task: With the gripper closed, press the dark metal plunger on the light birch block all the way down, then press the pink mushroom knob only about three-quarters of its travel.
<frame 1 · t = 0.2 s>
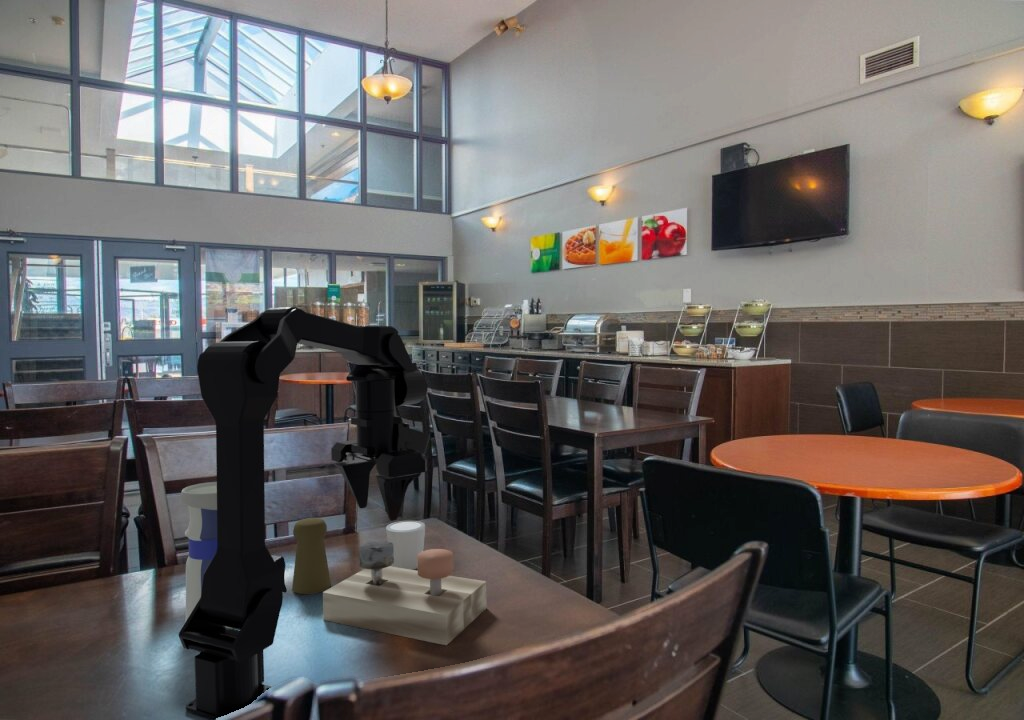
hand: (377, 513, 94), 14 cm above the table, tool pointing down, fingers open, 9 cm apart
water bottle: (216, 622, 89), on the table
plunger block: (406, 613, 90), on the table
metal plunger: (376, 567, 92), point 6 cm above the table, slide at 0.0 cm
shot glass: (406, 565, 110), on the table
cork: (311, 587, 101), on the table
pink mushroom knob: (435, 576, 88), point 6 cm above the table, slide at 0.0 cm
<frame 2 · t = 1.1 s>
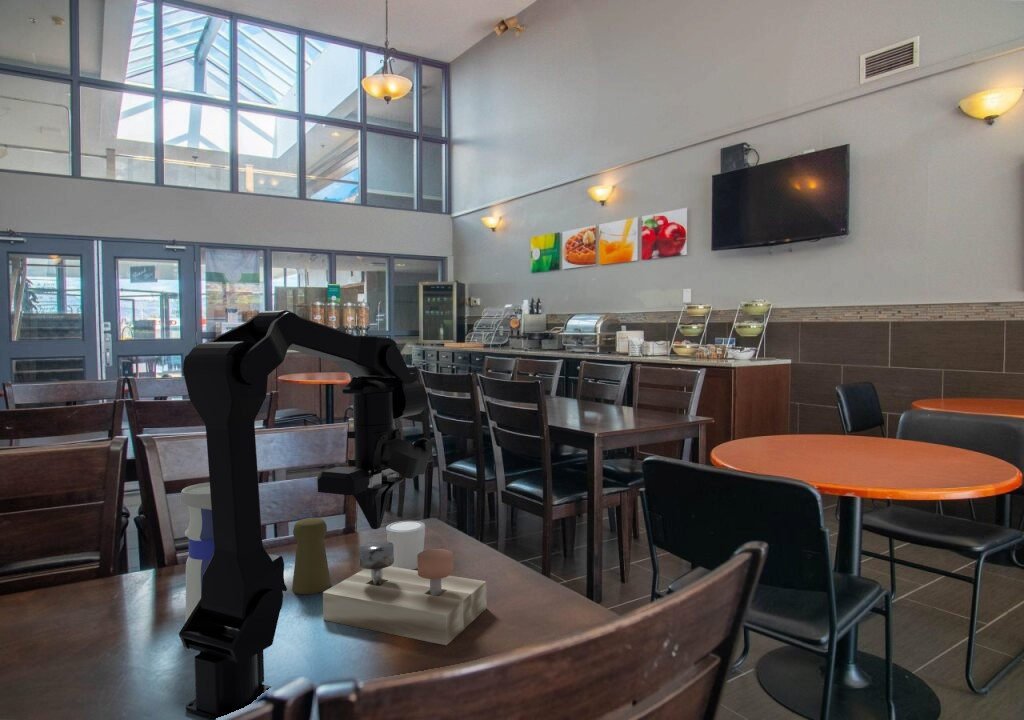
hand: (375, 528, 92), 12 cm above the table, tool pointing down, fingers closed
nothing on the table moved.
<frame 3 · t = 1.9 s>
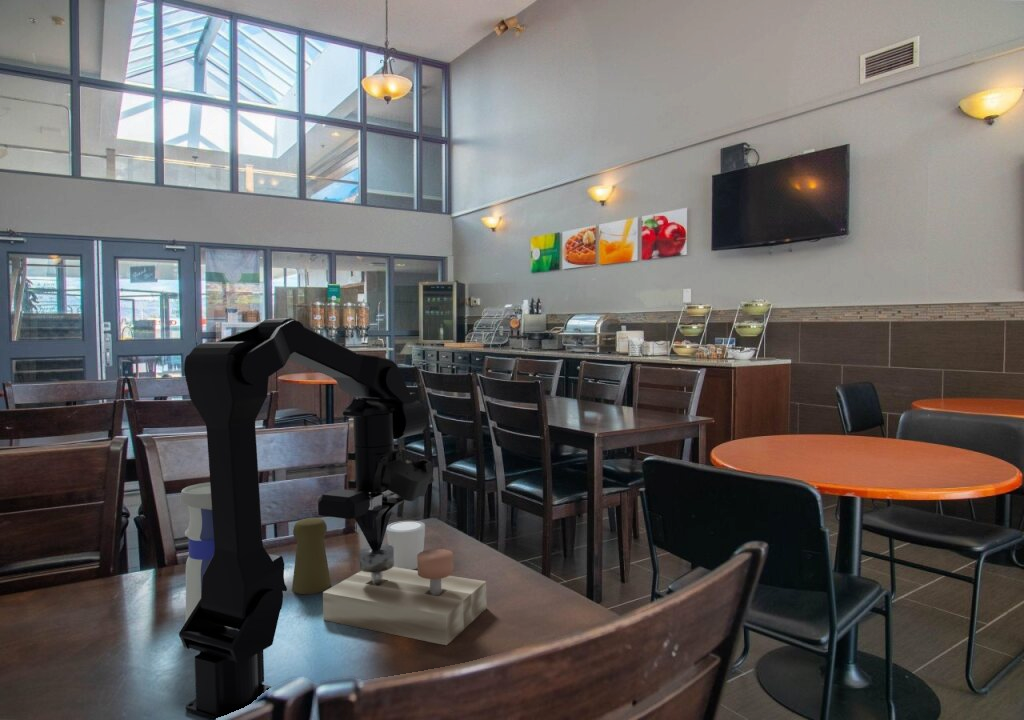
hand: (376, 549, 92), 9 cm above the table, tool pointing down, fingers closed, pressing on metal plunger
metal plunger: (376, 570, 92), point 6 cm above the table, slide at 0.4 cm, touching gripper
everything else where it was.
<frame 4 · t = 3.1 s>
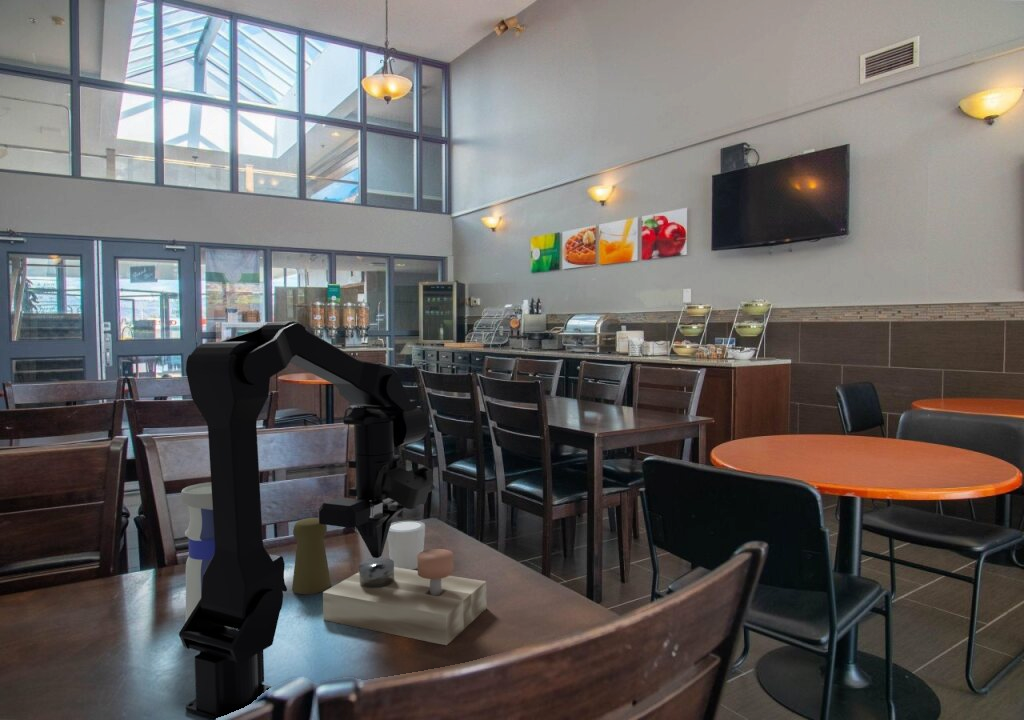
hand: (376, 557, 92), 8 cm above the table, tool pointing down, fingers closed
metal plunger: (377, 584, 92), point 4 cm above the table, slide at 2.6 cm
everything else where it was.
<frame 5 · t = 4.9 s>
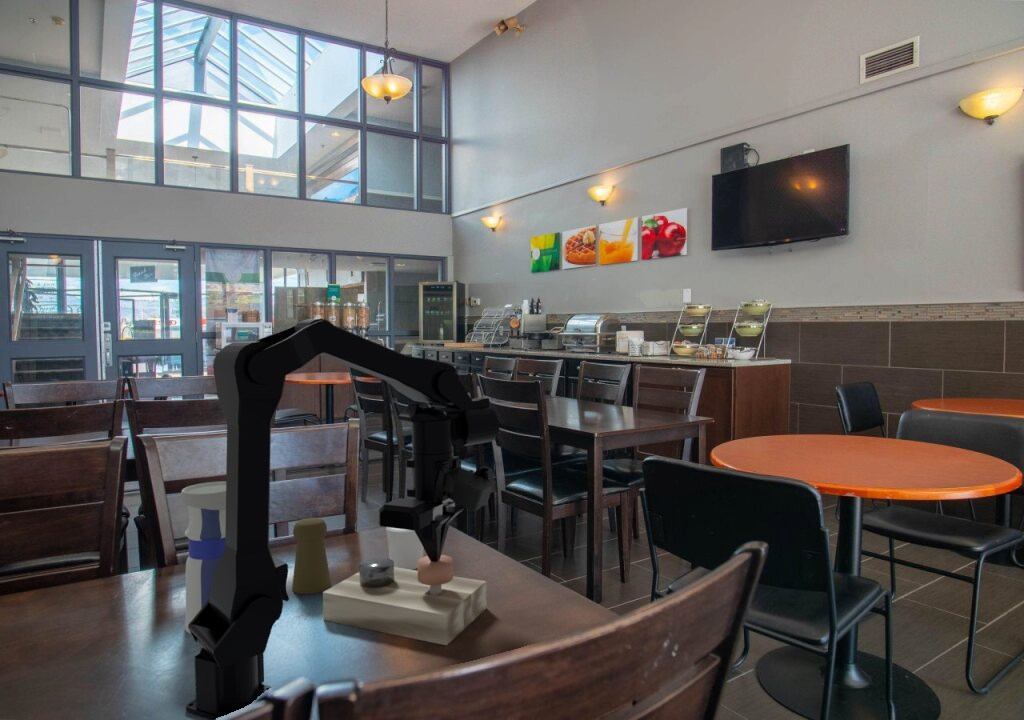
hand: (435, 560, 88), 8 cm above the table, tool pointing down, fingers closed, pressing on pink mushroom knob
pink mushroom knob: (435, 582, 88), point 5 cm above the table, slide at 0.9 cm, touching gripper
everything else where it was.
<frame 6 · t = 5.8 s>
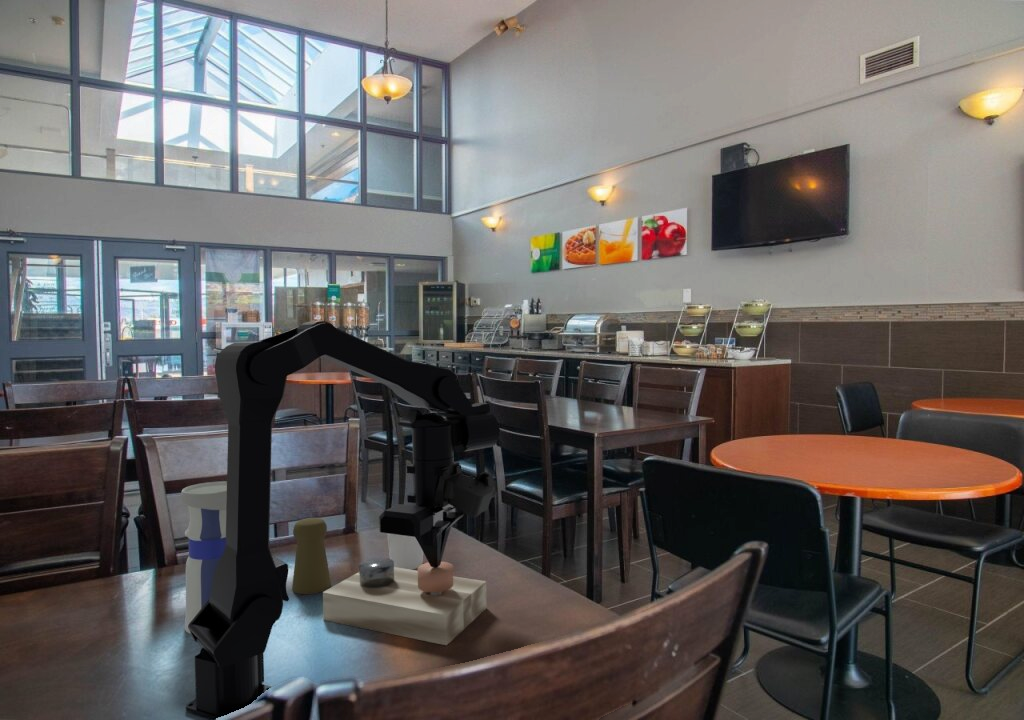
hand: (435, 566, 88), 8 cm above the table, tool pointing down, fingers closed
pink mushroom knob: (435, 589, 88), point 4 cm above the table, slide at 1.8 cm
everything else where it was.
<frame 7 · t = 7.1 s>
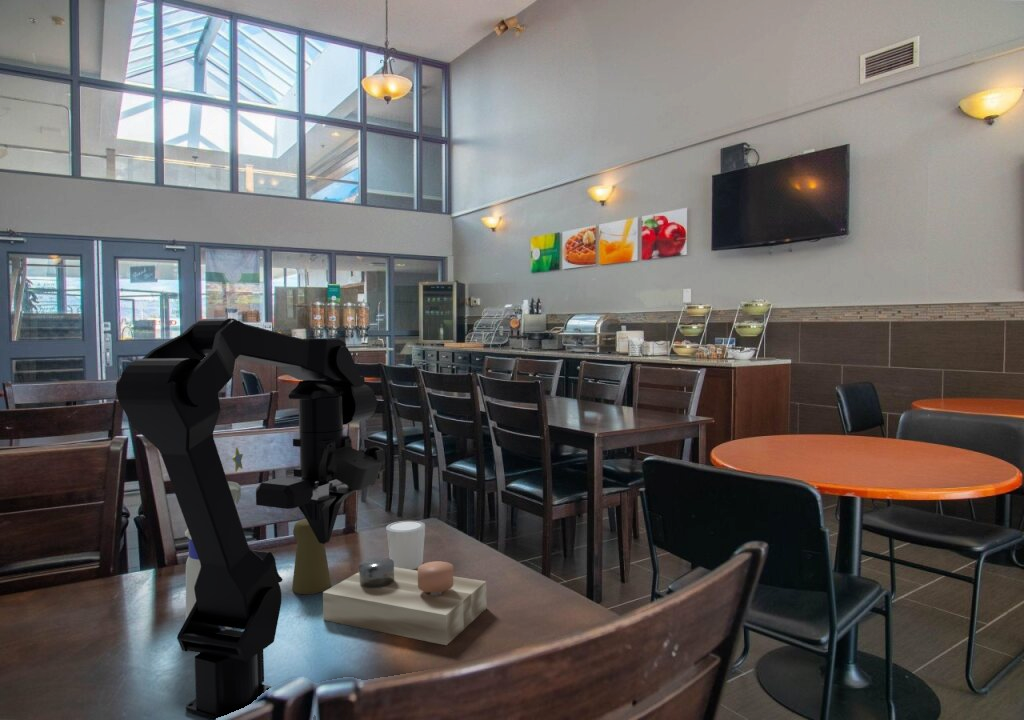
hand: (324, 542, 86), 12 cm above the table, tool pointing down, fingers closed
nothing on the table moved.
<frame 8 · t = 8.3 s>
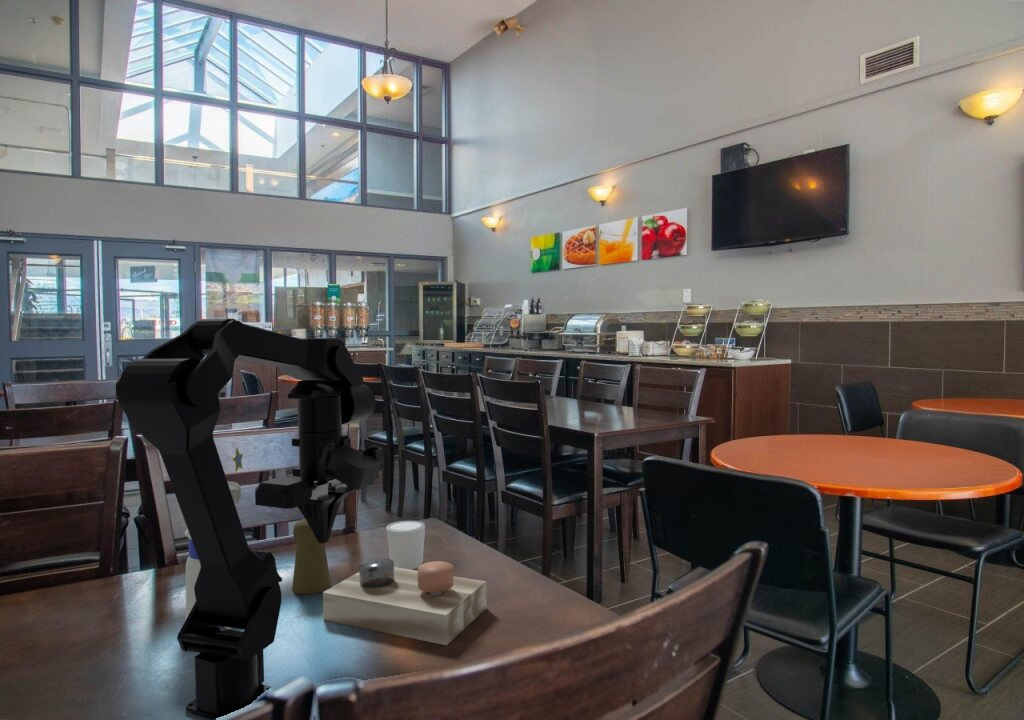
hand: (323, 542, 86), 12 cm above the table, tool pointing down, fingers closed
nothing on the table moved.
at the end: metal plunger slide at 2.6 cm; pink mushroom knob slide at 1.8 cm; cork moved 0.2 cm from its start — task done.
